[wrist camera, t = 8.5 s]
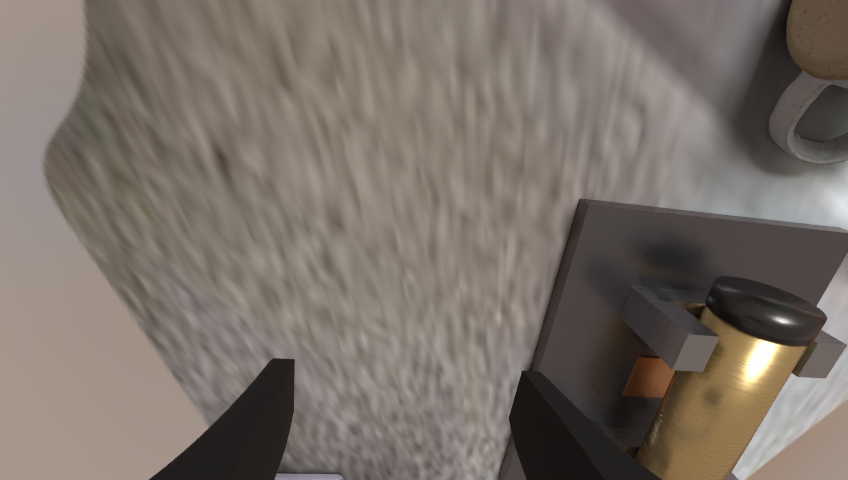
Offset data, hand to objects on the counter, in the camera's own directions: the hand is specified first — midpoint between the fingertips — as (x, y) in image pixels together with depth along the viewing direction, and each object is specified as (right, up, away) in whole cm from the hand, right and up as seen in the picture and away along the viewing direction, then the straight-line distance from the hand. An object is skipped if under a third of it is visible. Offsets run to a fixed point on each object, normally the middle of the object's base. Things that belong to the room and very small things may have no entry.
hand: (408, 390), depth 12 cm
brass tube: (+15, -4, +11) cm, 19 cm away
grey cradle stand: (+15, -4, +13) cm, 20 cm away
